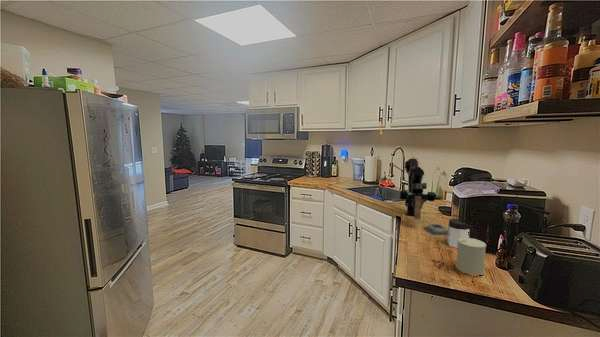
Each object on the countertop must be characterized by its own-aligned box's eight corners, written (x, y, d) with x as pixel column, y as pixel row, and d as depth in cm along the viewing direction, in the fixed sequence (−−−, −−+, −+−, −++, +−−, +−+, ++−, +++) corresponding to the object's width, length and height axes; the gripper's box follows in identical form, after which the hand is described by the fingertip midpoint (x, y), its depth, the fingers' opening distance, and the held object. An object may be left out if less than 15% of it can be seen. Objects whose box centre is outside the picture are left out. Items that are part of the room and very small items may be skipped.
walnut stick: (414, 217, 143) (414, 196, 142) (419, 218, 142) (420, 196, 141) (414, 219, 140) (415, 197, 139) (420, 219, 139) (421, 197, 138)
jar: (471, 246, 118) (472, 221, 117) (465, 251, 113) (466, 225, 112) (450, 240, 125) (451, 217, 124) (444, 244, 120) (445, 221, 119)
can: (452, 263, 102) (454, 235, 101) (478, 266, 100) (481, 237, 98) (459, 274, 94) (461, 244, 92) (488, 278, 91) (490, 247, 89)
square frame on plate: (423, 228, 143) (423, 223, 142) (440, 228, 143) (441, 223, 142) (432, 234, 133) (432, 229, 132) (451, 234, 133) (451, 229, 132)
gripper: (400, 177, 146) (401, 199, 136) (436, 178, 139) (439, 202, 130) (399, 187, 154) (399, 209, 145) (433, 189, 148) (435, 212, 139)
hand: (417, 208), depth 139 cm, fingers closed on walnut stick, 3 cm apart
